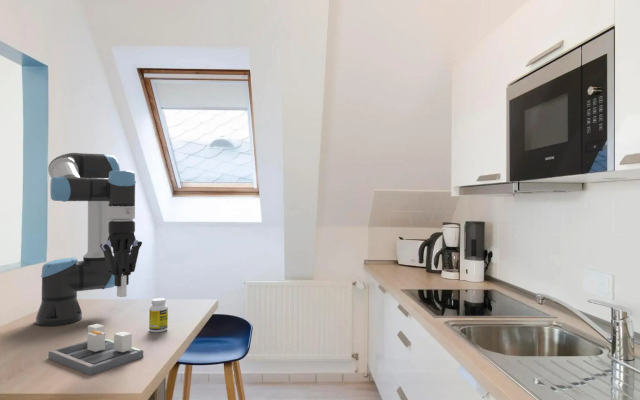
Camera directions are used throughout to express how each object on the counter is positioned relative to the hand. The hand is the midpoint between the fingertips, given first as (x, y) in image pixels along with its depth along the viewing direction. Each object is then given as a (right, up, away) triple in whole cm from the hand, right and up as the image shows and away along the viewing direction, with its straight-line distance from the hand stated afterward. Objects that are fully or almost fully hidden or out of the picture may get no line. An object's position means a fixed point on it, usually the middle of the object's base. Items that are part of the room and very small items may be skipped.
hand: (121, 296), depth 134 cm
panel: (-5, -17, -6) cm, 19 cm away
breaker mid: (-5, -14, -6) cm, 16 cm away
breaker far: (-8, -14, +1) cm, 16 cm away
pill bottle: (+4, -17, +20) cm, 27 cm away
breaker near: (+4, -14, -7) cm, 16 cm away
